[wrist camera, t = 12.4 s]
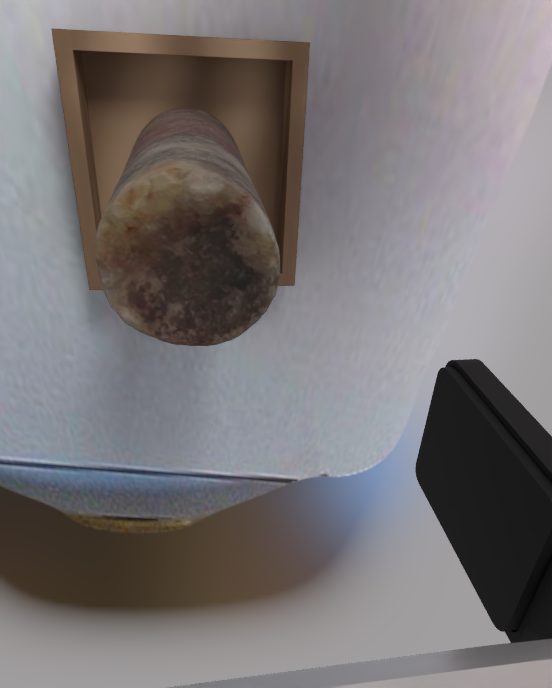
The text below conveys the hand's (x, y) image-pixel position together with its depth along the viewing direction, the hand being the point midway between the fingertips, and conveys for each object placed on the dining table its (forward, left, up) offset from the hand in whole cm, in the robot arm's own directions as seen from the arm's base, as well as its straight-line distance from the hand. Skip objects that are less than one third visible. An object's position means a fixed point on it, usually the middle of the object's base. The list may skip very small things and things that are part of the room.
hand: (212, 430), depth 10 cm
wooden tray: (0, 0, -31) cm, 31 cm away
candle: (0, 0, -30) cm, 30 cm away
